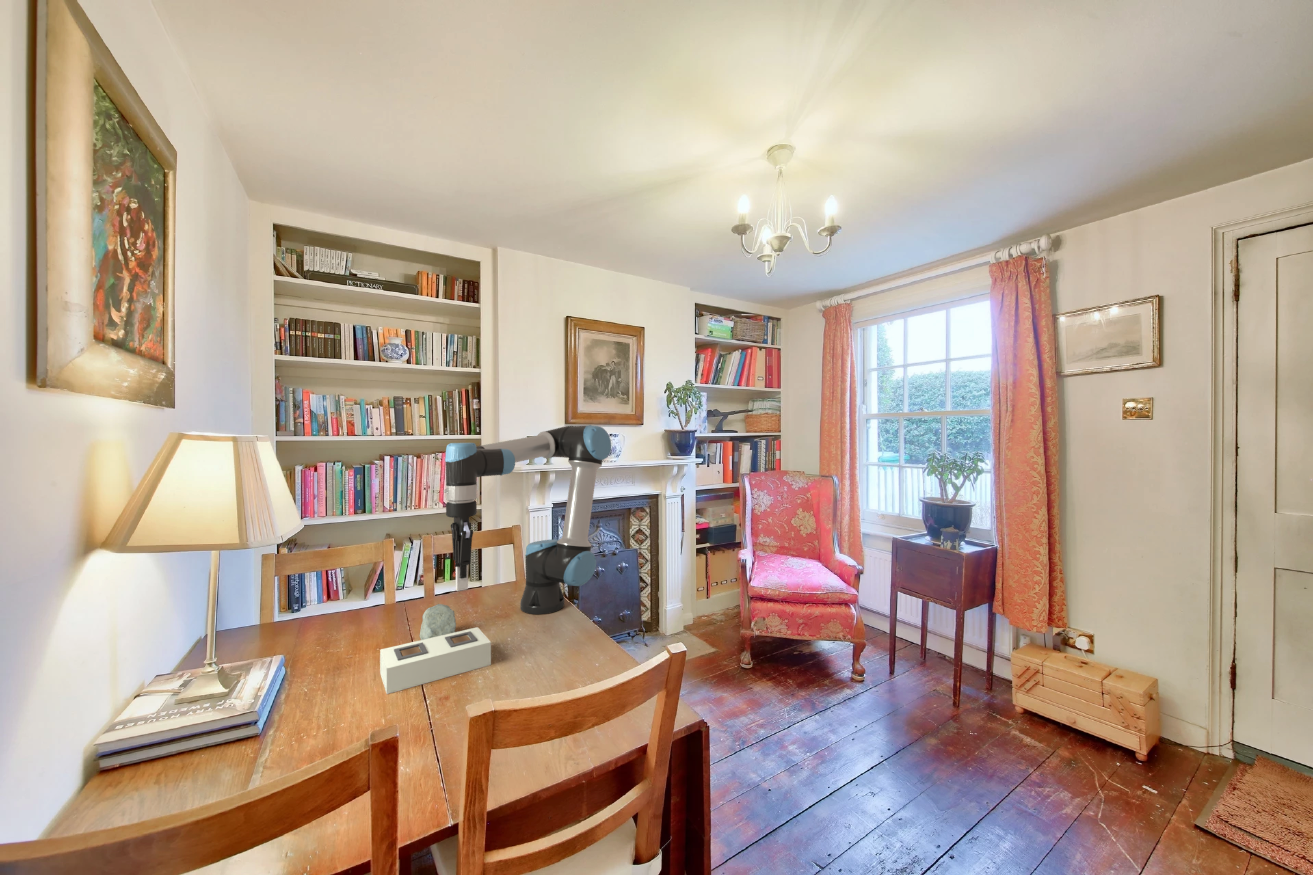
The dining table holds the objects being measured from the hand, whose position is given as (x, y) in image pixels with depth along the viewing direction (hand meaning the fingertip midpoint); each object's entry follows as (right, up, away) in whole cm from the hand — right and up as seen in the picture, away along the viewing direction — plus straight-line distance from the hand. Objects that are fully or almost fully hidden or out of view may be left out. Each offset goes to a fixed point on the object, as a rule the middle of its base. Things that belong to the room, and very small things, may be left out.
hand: (461, 589), depth 126 cm
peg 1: (-10, -19, -7) cm, 23 cm away
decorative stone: (-13, -20, +13) cm, 27 cm away
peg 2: (0, -19, 0) cm, 19 cm away
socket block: (-5, -19, -4) cm, 20 cm away
